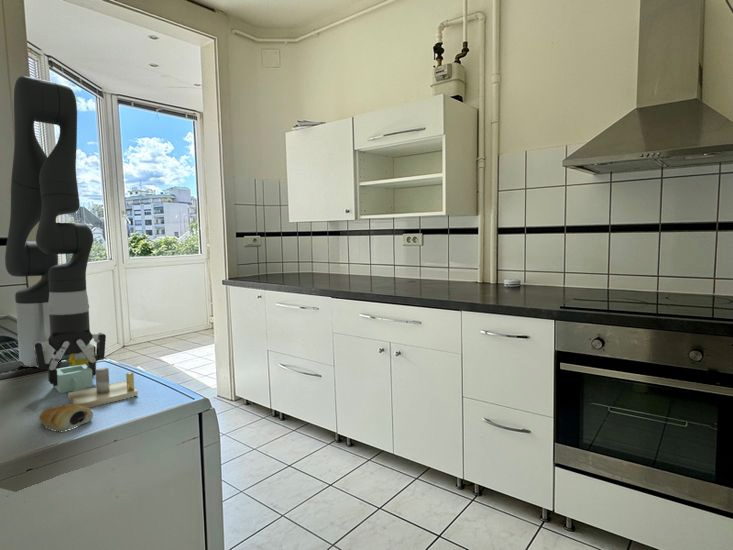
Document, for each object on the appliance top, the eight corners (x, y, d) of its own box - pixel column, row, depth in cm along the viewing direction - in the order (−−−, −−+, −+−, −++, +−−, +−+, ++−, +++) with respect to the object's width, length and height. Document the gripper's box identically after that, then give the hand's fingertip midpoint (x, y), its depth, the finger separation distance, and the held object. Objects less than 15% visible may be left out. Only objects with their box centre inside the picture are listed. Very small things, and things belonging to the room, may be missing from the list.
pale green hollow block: (53, 386, 100) (52, 369, 100) (85, 379, 105) (85, 363, 105) (63, 398, 93) (62, 380, 93) (97, 390, 98) (96, 373, 97)
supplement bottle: (94, 374, 109) (92, 337, 108) (68, 377, 107) (66, 339, 106) (95, 368, 114) (94, 332, 113) (71, 371, 111) (69, 334, 111)
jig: (68, 398, 93) (66, 370, 93) (124, 386, 101) (123, 360, 100) (78, 410, 87) (77, 380, 86) (137, 396, 95) (136, 368, 94)
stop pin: (126, 390, 95) (125, 373, 94) (133, 388, 96) (132, 372, 95) (128, 391, 94) (127, 374, 94) (135, 390, 95) (134, 373, 95)
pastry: (28, 426, 80) (27, 406, 79) (65, 413, 86) (64, 395, 86) (62, 435, 76) (61, 414, 76) (98, 421, 83) (97, 401, 82)
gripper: (100, 305, 107) (103, 371, 108) (27, 312, 96) (31, 384, 98) (109, 308, 101) (112, 378, 103) (32, 316, 91) (37, 393, 93)
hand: (73, 381), depth 100 cm, fingers closed on pale green hollow block, 6 cm apart
